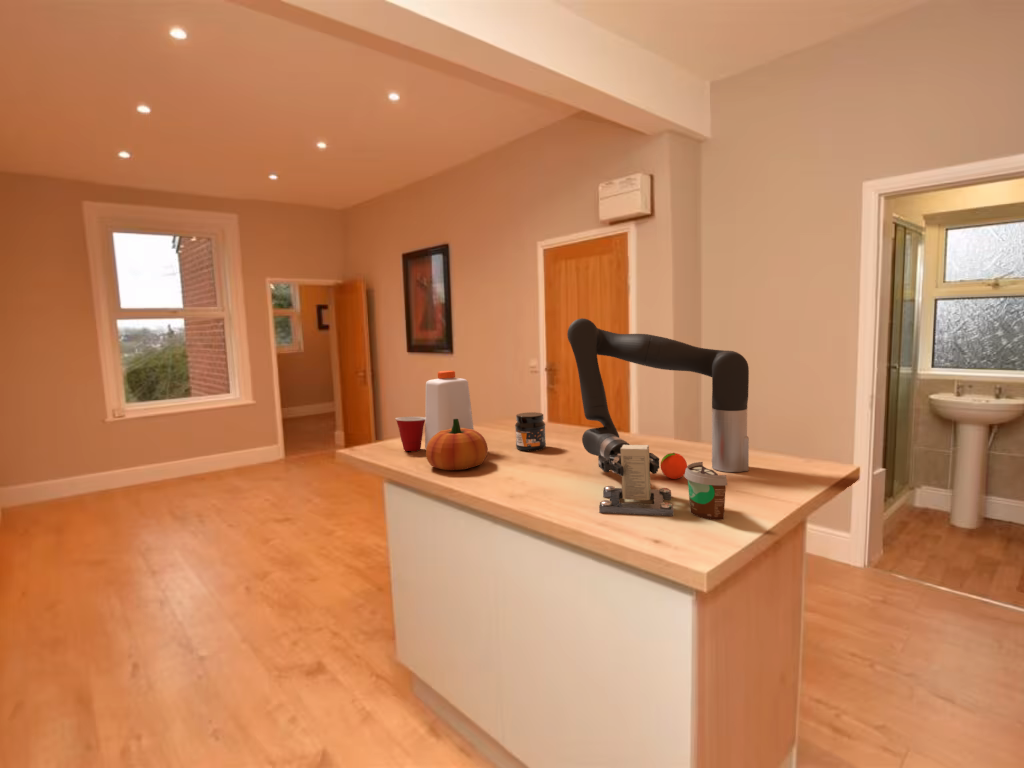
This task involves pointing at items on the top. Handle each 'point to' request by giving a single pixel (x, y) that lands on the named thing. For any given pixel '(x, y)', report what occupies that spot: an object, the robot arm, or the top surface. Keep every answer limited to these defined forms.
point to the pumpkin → (456, 448)
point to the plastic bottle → (446, 404)
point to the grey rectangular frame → (637, 509)
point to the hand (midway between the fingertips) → (638, 470)
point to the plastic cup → (411, 432)
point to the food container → (706, 491)
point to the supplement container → (530, 431)
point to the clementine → (673, 465)
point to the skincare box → (636, 472)
